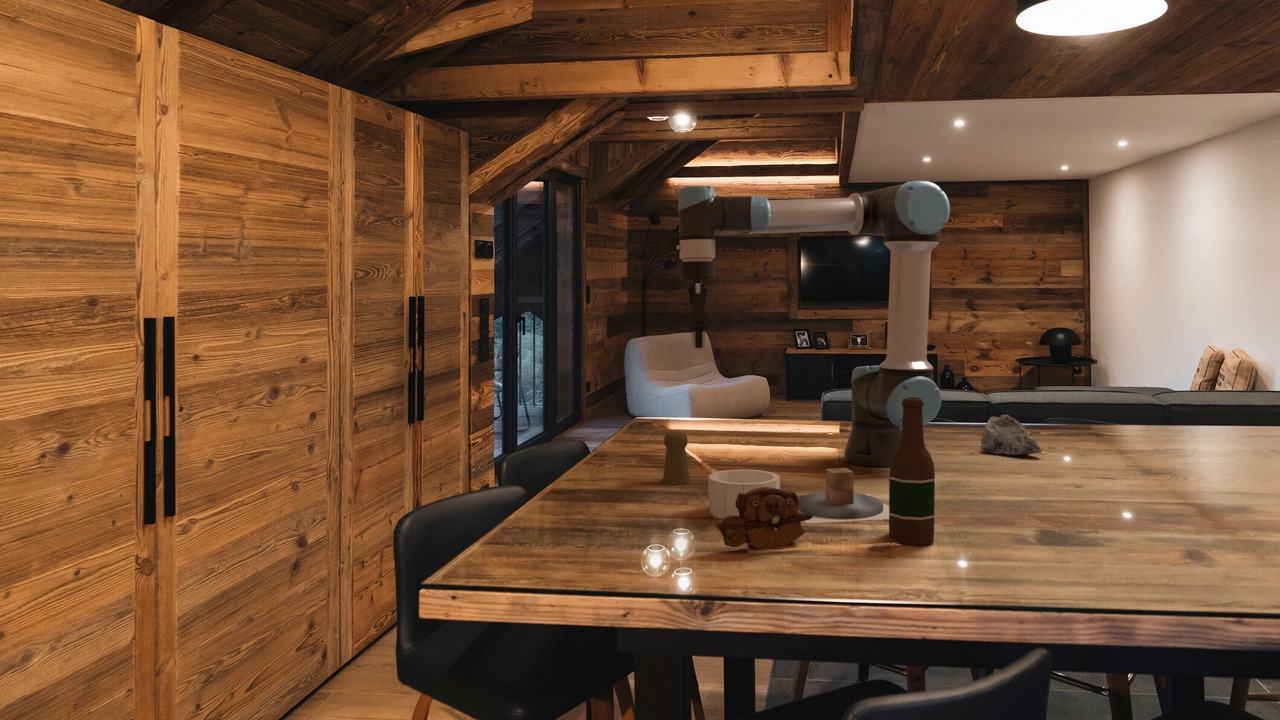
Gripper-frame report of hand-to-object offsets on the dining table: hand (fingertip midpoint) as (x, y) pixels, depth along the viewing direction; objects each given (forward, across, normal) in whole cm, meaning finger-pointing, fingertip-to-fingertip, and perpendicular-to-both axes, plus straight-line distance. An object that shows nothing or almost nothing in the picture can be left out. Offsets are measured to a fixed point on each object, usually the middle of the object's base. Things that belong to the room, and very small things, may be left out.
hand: (698, 360), depth 197 cm
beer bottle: (+27, +43, +35) cm, 61 cm away
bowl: (+27, +24, +8) cm, 37 cm away
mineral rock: (+27, -31, +76) cm, 86 cm away
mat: (+27, +23, +26) cm, 44 cm away
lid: (+26, +23, +26) cm, 44 cm away
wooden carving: (+27, +47, +10) cm, 55 cm away
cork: (+27, -3, -5) cm, 28 cm away
